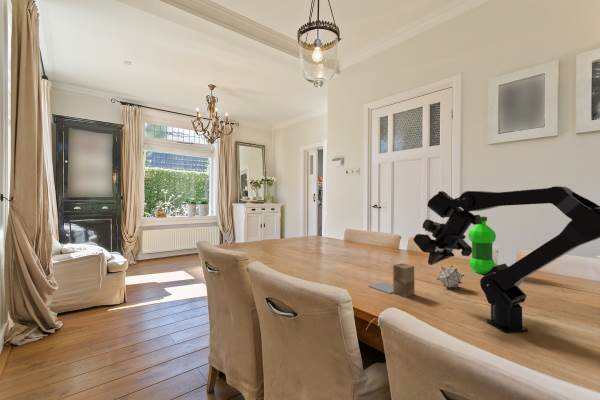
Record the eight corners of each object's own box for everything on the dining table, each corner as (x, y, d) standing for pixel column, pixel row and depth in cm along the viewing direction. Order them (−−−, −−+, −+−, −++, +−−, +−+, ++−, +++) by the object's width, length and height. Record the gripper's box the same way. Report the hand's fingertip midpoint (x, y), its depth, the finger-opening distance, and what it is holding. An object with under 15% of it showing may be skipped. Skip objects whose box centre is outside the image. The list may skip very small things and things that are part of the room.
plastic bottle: (495, 271, 126) (494, 216, 125) (496, 276, 117) (496, 217, 116) (469, 268, 131) (468, 215, 131) (469, 273, 122) (468, 217, 122)
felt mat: (403, 289, 103) (403, 288, 103) (389, 293, 98) (389, 292, 98) (382, 282, 111) (382, 282, 111) (368, 286, 106) (368, 285, 106)
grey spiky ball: (456, 299, 102) (470, 282, 96) (433, 289, 104) (446, 272, 98) (453, 281, 109) (467, 264, 103) (432, 273, 111) (444, 256, 105)
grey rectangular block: (414, 294, 97) (414, 266, 97) (405, 297, 94) (405, 268, 94) (402, 290, 101) (401, 263, 101) (393, 293, 99) (393, 265, 98)
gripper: (461, 215, 93) (437, 249, 101) (416, 208, 87) (394, 245, 95) (485, 236, 84) (457, 272, 91) (436, 230, 78) (411, 269, 86)
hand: (429, 263), depth 91 cm, fingers closed
